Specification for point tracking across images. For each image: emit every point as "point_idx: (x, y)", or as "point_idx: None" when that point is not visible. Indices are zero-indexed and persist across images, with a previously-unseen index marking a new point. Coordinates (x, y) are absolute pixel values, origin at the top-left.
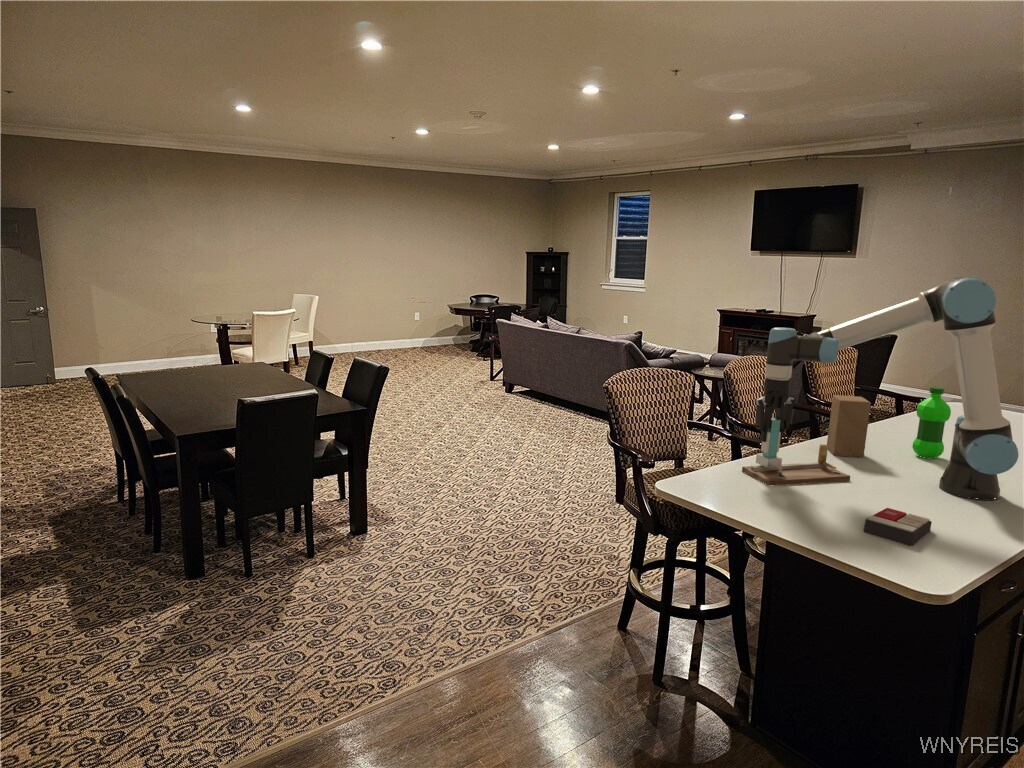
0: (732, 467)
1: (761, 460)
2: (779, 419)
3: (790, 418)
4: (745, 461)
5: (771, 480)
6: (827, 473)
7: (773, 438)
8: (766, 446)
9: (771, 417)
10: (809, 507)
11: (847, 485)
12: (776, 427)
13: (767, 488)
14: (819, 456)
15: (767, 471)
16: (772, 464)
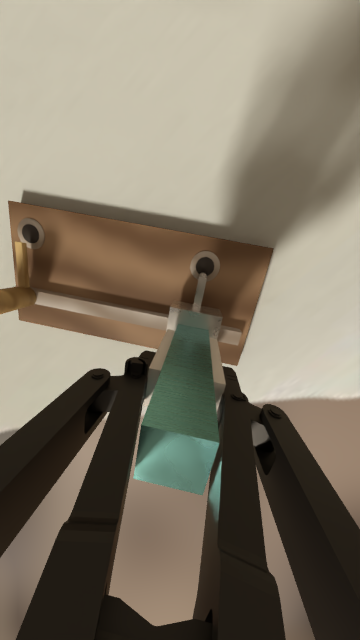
0: None
1: None
2: (134, 437)
3: (41, 414)
4: None
5: (263, 250)
6: (57, 242)
7: (194, 358)
8: (218, 351)
9: (224, 471)
10: (337, 19)
11: (53, 172)
12: (177, 391)
13: (292, 233)
14: (19, 301)
15: None
16: (204, 309)
